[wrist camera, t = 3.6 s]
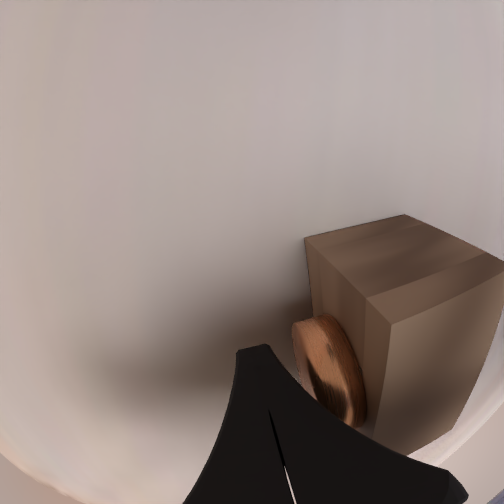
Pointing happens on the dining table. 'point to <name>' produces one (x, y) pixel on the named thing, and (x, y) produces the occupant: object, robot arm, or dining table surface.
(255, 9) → the dining table surface
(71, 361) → the dining table surface
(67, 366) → the dining table surface
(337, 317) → the block
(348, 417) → the pin
